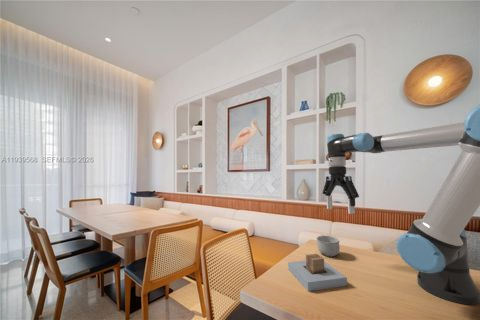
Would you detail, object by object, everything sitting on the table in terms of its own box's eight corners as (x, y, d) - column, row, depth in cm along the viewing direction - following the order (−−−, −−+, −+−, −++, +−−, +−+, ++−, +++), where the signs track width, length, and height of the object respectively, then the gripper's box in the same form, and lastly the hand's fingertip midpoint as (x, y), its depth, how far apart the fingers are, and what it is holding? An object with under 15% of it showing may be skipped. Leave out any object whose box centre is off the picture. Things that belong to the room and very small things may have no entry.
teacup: (342, 259, 93) (342, 242, 94) (319, 257, 95) (318, 241, 96) (334, 248, 107) (334, 233, 107) (314, 247, 109) (313, 232, 110)
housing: (347, 285, 71) (346, 277, 72) (308, 291, 68) (307, 282, 68) (321, 265, 87) (320, 258, 87) (288, 269, 84) (288, 262, 84)
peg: (324, 279, 76) (324, 258, 76) (313, 281, 75) (312, 260, 75) (317, 273, 81) (316, 253, 81) (306, 274, 80) (305, 254, 80)
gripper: (314, 167, 104) (316, 207, 102) (351, 164, 80) (355, 216, 78) (326, 167, 106) (328, 206, 104) (366, 164, 81) (370, 215, 80)
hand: (339, 211), depth 91 cm, fingers open, 13 cm apart
